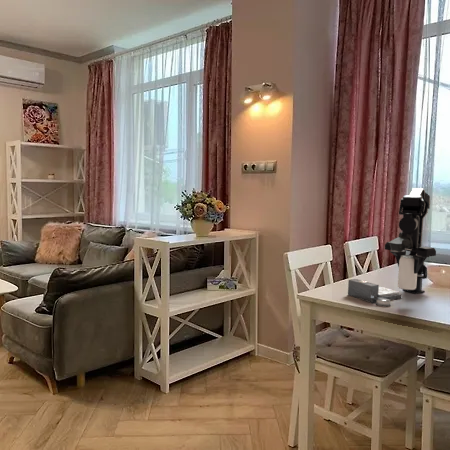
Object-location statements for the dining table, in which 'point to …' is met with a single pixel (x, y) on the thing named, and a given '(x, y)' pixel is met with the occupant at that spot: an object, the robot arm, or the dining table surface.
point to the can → (407, 273)
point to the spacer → (383, 302)
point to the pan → (386, 292)
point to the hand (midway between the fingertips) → (408, 271)
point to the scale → (367, 291)
